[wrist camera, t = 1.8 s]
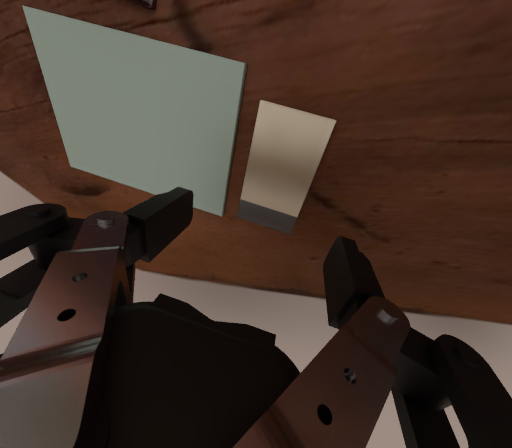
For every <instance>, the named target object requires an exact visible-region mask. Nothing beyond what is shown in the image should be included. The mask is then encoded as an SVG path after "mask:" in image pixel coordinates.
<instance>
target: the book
mask: <svg viewBox="0 0 512 448" xmlns="http://www.w3.org/2000/svg"><path fill="white" fill-rule="evenodd" d="M128 1H131V2H133V3H136V4H138V5H141V6H143V7H146V8H148V9H155V6H156V0H128Z"/></svg>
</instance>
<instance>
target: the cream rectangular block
mask: <svg viewBox="0 0 512 448" xmlns="http://www.w3.org/2000/svg"><path fill="white" fill-rule="evenodd" d="M335 123H336V120H333V119H330V118H327V117H323V116H319V115H316V114H312V113H308V112H305V111H301V110H297V109H294V108H290V107H287V106H283V105H279V104H276V103H272V102H268V101H264V100H260V105H259V110H258V115H257V120H256V125H255V130H254V135H253V140H252V145H251V150H250V154H249V159H248V164H247V169H246V174H245V179H244V184H243V189H242V194H241V199H240V204H239V209H238V214H237V217H238V218H241V219H244V220H248V221H251V222H254V223H257V224H260V225H263V226H266V227H269V228H272V229H275V230H278V231H281V232H284V233H287V234H291V232H292V229H293V227H294V224H295V222H296V219H297V217H298V214H299V212H300V209H301V207H302V205H303V202H304V200H305V197H306V195H307V192H308V190H309V187H310V185H311V182H312V180H313V177H314V175H315V172H316V170H317V167H318V165H319V162H320V160H321V158H322V155H323V153H324V150H325V148H326V145H327V143H328V140H329V138H330V135H331V133H332V130H333V128H334V125H335Z"/></svg>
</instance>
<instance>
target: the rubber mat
mask: <svg viewBox="0 0 512 448" xmlns="http://www.w3.org/2000/svg"><path fill="white" fill-rule="evenodd" d="M23 9H24V13H25V16H26V19H27V23H28V26H29V29H30V33H31V36H32V39H33V43H34V46H35V49H36V53H37V56H38V59H39V63H40V66H41V69H42V73H43V76H44V79H45V83H46V86H47V89H48V93H49V96H50V99H51V103H52V106H53V109H54V113H55V116H56V119H57V123H58V126H59V129H60V133H61V136H62V139H63V143H64V146H65V149H66V153H67V156H68V159H69V163H70V166H71V167H74V168H77V169H80V170H83V171H86V172H89V173H92V174H95V175H98V176H101V177H104V178H107V179H110V180H113V181H116V182H119V183H122V184H125V185H128V186H131V187H134V188H137V189H140V190H143V191H146V192H149V193H152V194H155V195H157V194H161V193H166V192H169V191H171V190H173V189H174V188H176V187H182V188H185V189H188V190H192V191H193V195H194V197H193V207H195V208H198V209H201V210H204V211H207V212H210V213H213V214H216V215H219V216H223V214H224V209H225V202H226V196H227V190H228V183H229V177H230V171H231V164H232V158H233V151H234V145H235V139H236V132H237V126H238V120H239V113H240V107H241V100H242V94H243V88H244V81H245V75H246V69H247V64H245V63H242V62H238V61H234V60H231V59H227V58H223V57H219V56H215V55H211V54H207V53H204V52H200V51H196V50H192V49H188V48H184V47H180V46H177V45H173V44H169V43H165V42H161V41H157V40H153V39H150V38H146V37H142V36H138V35H134V34H130V33H126V32H123V31H119V30H115V29H111V28H107V27H103V26H99V25H96V24H92V23H88V22H84V21H80V20H76V19H72V18H68V17H65V16H61V15H57V14H53V13H49V12H45V11H41V10H38V9H34V8H30V7H26V6H23Z"/></svg>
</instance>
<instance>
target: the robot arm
mask: <svg viewBox="0 0 512 448" xmlns="http://www.w3.org/2000/svg"><path fill="white" fill-rule="evenodd" d="M193 197H194V195H193V191H192V190H188V189H185V188H182V187H176V188H174V189H173V190H171V191H169V192H166V193H161V194H157V195H155V196H153V197H152V198H150V199H148V200H146V201H144V203H140V204H138V205H137V206H135V207H133V208H131V209H129V210H127V211H125V212H123V213H121V212H117V211H104V212H98V213H95V214H92V215H90V216H88V217H87V218H86V219H80V218H70V217H68V214H67V211H66V209H65V207H63V206H61V205H58V204H36V205H31V206H27V207H24V208H21V209H18V210H15V211H12V212H9V213H7V214H4V215H1V216H0V260H2V259H4V258H6V257H8V256H10V255H12V254H14V253H16V252H18V251H20V250H22V249H24V248H26V247H29V249H30V251H31V253H32V255H33V257H34V260H32V261H30V262H28V263H26V264H25V265H23V266H21V267H19V268H18V269H16V270H14V271H12V272H11V273H9V274H7V275H5V276H4V277H2V278H0V327H2V326H3V325H4V324H6V323H7V322H8V321H10V320H11V319H13V318H14V317H15V316H17V315H18V314H19V313H20V312H22V311H23V310H25V309H26V308H27V307H28V308H27V310H26V312H25V314H24V316H23V317H22V319H21V321H20V323H19V325H18V327H17V329H16V331H15V333H14V335H13V337H12V339H11V341H10V342H9V344H8V346H7V348H6V350H5V352H4V353H3V354H0V448H366V445H367V443H368V441H369V439H370V436H371V434H372V432H373V429H374V427H375V425H376V422H377V420H378V418H379V416H380V413H381V411H382V409H383V407H384V404H385V402H386V399H387V397H388V395H389V392H390V391H392V394H393V398H394V402H395V406H396V410H397V414H398V418H399V421H400V425H401V429H402V433H403V437H404V441H405V445H406V448H460V446H459V444H458V442H457V439H456V437H455V435H454V432H453V430H452V427H451V425H450V423H449V420H448V418H447V415H446V413H445V411H444V408H446V407H448V406H450V405H452V406H453V408H454V411H455V412H456V415H457V417H458V419H459V422H460V424H461V426H462V428H463V430H464V433H465V435H466V437H467V440H468V445H469V448H512V398H511V396H510V395H509V393H508V392H507V391H506V389H505V388H504V386H503V385H502V383H501V382H500V380H499V379H498V377H497V376H496V374H495V373H494V371H493V370H492V369H491V367H490V366H489V364H488V363H487V362H486V361H485V360H484V358H483V357H481V355H480V354H479V353H477V352H476V351H475V350H474V349H473V348H472V347H470V346H469V345H468V344H466V343H465V342H463V341H462V340H460V339H458V338H456V337H454V336H451V335H446V334H444V335H441V336H439V337H438V338H437V339H435V340H432V339H430V338H429V337H426V336H425V335H423V334H422V333H420V332H418V331H416V330H414V329H413V328H411V327H410V323H409V320H408V318H407V317H406V315H405V314H404V313H403V312H402V311H401V309H399V308H398V307H397V306H396V305H395V304H393V303H392V302H390V301H389V300H387V299H385V297H384V294H383V292H382V289H381V287H380V285H379V282H378V280H377V278H376V277H375V276H376V275H375V273H374V271H373V268H372V266H371V263H370V261H369V260H368V259H367V258H366V256H365V255H364V254H363V253H361V252H359V250H358V247H357V245H356V242H355V241H354V240H351V239H348V238H345V237H342V236H338V237H337V238H336V240H335V242H334V244H333V246H332V247H331V249H330V251H329V253H328V255H327V257H326V259H325V261H324V265H323V274H324V284H325V294H326V303H327V313H328V323H329V326H332V327H334V328H337V329H339V331H338V332H337V333H336V334H335V336H333V338H332V339H331V340H330V341H329V342H328V343H327V344H326V346H325V347H324V348H323V349H322V350H321V351H320V352H319V353H318V354H317V355H316V357H315V358H314V359H313V360H312V361H311V362H310V363H309V364H308V366H307V367H306V368H305V369H304V370H303V371H302V372H301V373H300V372H299V370H298V369H297V367H296V366H295V365H294V363H293V362H292V361H291V360H290V359H289V358H288V356H287V355H286V354H285V353H284V352H282V351H281V350H280V349H279V348H278V347H276V346H275V338H276V335H275V334H272V333H269V332H267V331H264V330H261V329H259V328H256V327H253V326H250V325H247V324H239V323H228V322H217V321H213V320H211V319H209V318H208V317H206V316H205V315H203V314H202V313H201V312H199V311H198V310H197V309H195V308H194V307H192V306H191V305H190V304H188V303H186V302H183V301H180V300H178V299H175V298H172V297H169V296H166V295H163V294H159V295H158V297H157V298H156V299H155V300H154V302H137V303H133V294H134V281H135V262H136V261H137V260H139V259H140V260H143V261H146V262H150V261H151V260H152V259H153V258H155V257H156V256H157V255H158V254H159V253H160V252H161V251H162V250H163V249H164V248H165V247H166V246H167V245H168V244H170V243H171V242H172V241H173V240H174V239H175V238H176V237H177V236H178V235H179V234H180V233H181V232H182V231H183V230H184V229H186V228H187V227H188V226H189V224H190V223H191V220H192V216H193Z"/></svg>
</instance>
